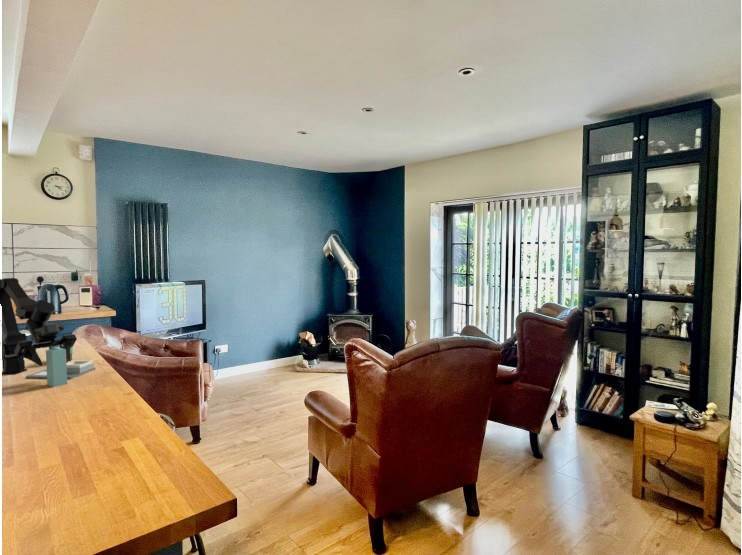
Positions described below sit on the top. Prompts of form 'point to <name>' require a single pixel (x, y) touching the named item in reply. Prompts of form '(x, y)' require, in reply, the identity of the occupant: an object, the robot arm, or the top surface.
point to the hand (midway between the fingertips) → (55, 362)
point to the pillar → (56, 366)
